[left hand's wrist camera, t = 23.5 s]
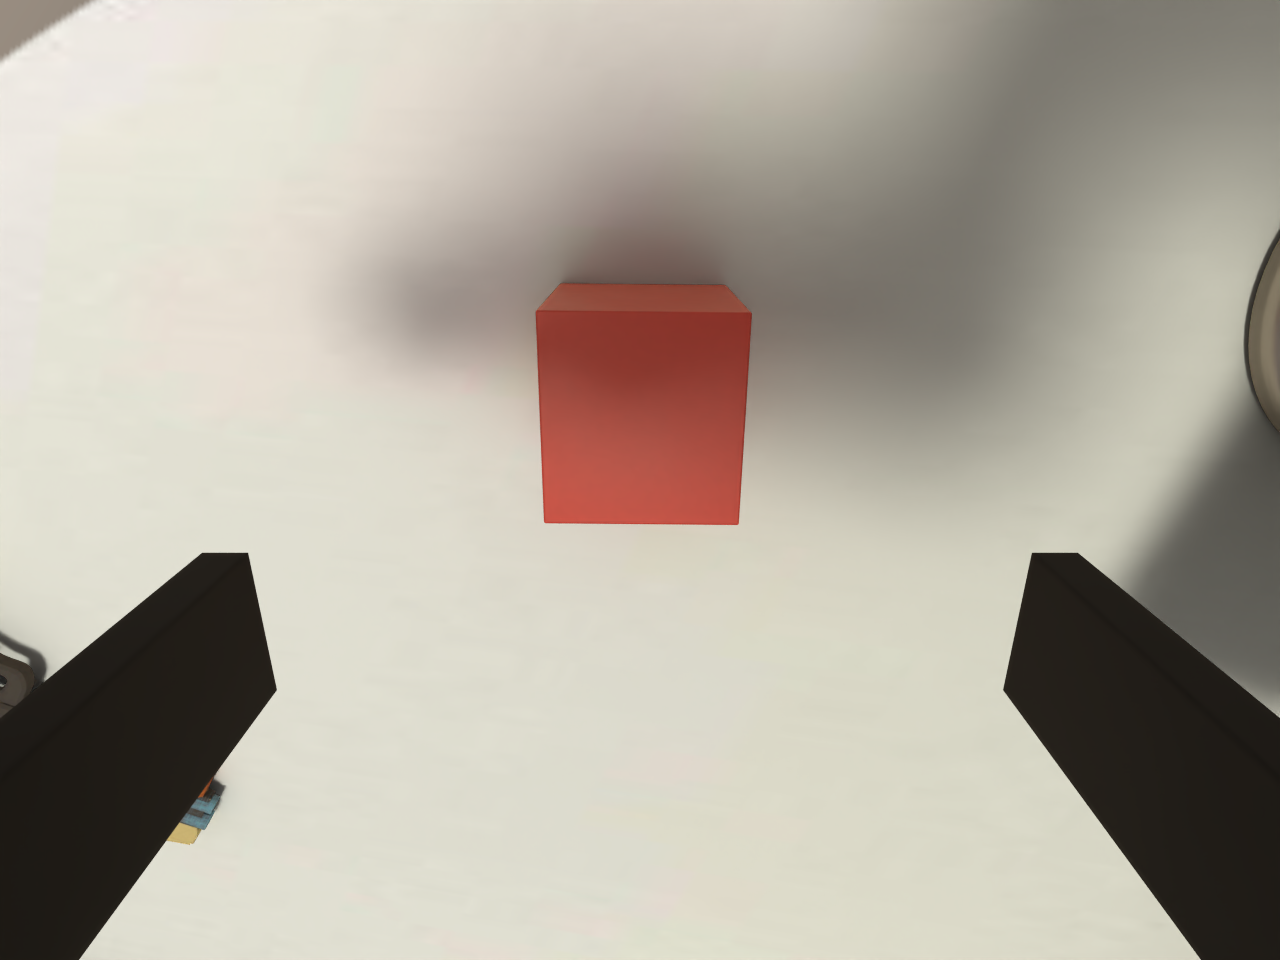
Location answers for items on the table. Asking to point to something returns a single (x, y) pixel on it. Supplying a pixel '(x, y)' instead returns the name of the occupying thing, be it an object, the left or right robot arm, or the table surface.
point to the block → (642, 403)
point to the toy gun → (21, 686)
